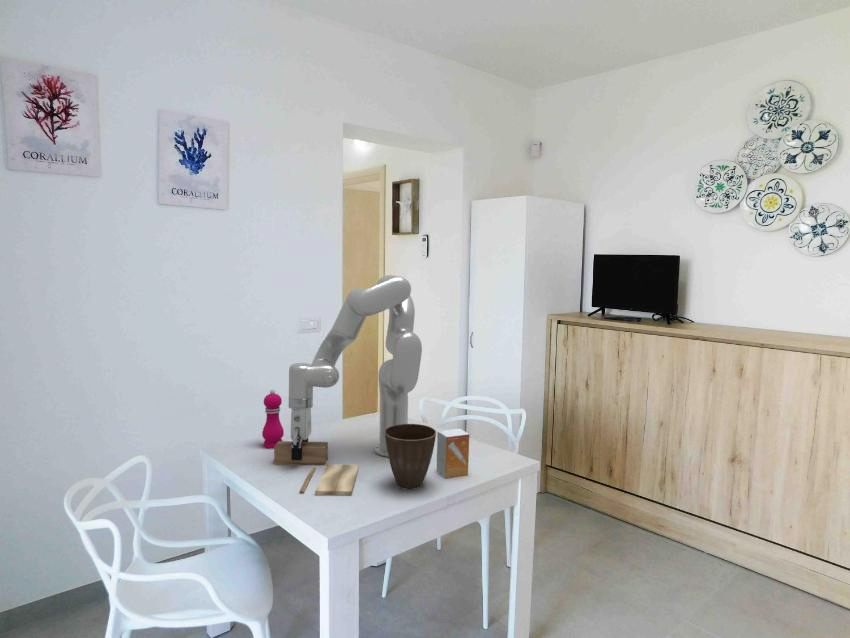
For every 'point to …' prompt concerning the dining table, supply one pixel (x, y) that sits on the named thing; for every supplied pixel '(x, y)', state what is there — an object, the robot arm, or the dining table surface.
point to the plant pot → (410, 453)
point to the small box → (452, 453)
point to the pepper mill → (272, 420)
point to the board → (334, 480)
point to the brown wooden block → (310, 453)
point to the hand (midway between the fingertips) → (300, 454)
